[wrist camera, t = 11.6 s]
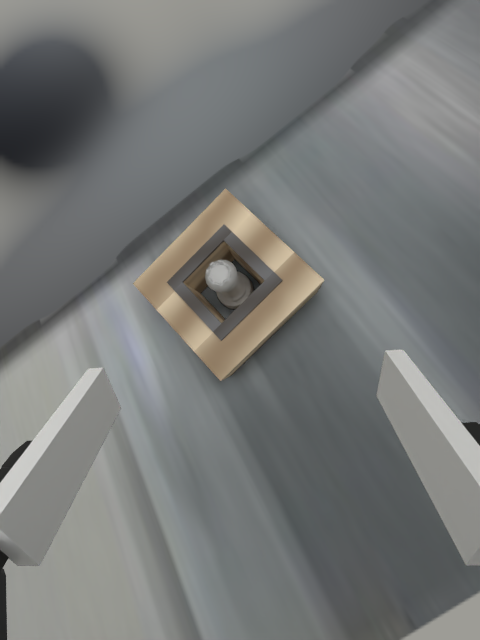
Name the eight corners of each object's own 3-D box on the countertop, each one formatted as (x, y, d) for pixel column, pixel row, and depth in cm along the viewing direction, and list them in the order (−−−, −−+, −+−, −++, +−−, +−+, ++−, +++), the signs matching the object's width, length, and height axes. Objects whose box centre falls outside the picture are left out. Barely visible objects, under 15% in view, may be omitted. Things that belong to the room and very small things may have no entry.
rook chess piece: (212, 284, 35) (188, 263, 27) (244, 267, 34) (229, 241, 26) (227, 316, 34) (206, 304, 26) (260, 299, 33) (249, 282, 26)
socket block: (317, 292, 32) (324, 279, 26) (232, 374, 33) (220, 381, 27) (235, 215, 35) (224, 187, 29) (158, 293, 36) (131, 282, 30)
